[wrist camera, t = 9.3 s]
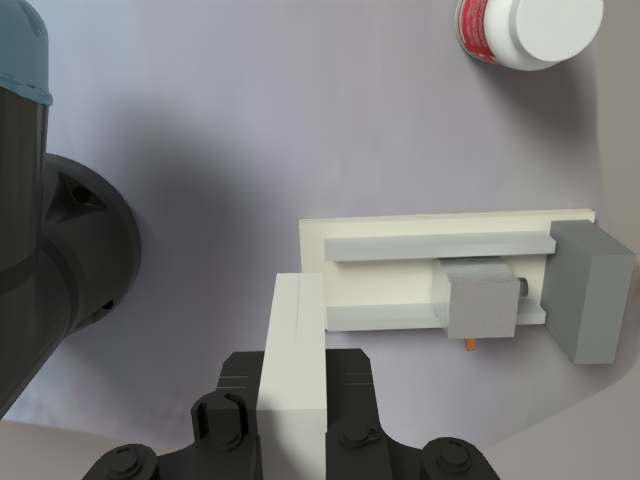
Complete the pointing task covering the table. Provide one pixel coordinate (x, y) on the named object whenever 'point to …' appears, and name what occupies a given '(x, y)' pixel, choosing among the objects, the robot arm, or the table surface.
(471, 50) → the pill bottle
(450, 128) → the table surface
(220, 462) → the robot arm
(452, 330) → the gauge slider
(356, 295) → the base
